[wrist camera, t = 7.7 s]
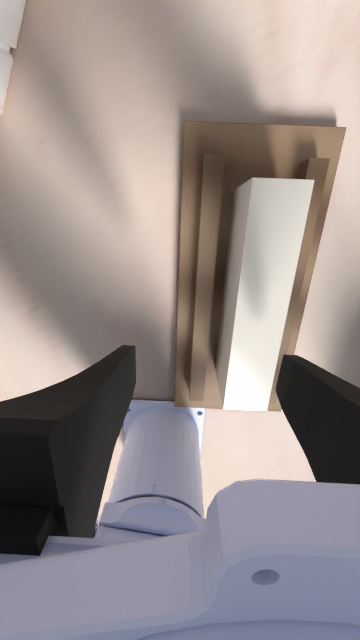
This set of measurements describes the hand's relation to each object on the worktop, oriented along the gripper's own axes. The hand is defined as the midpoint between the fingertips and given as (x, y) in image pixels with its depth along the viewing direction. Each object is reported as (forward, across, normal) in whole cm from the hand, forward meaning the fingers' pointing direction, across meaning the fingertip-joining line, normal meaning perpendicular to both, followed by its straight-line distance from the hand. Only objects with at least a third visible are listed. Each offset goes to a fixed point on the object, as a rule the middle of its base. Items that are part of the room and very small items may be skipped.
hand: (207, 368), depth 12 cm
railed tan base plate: (+9, -3, -2) cm, 10 cm away
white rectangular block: (+8, -3, -2) cm, 9 cm away
